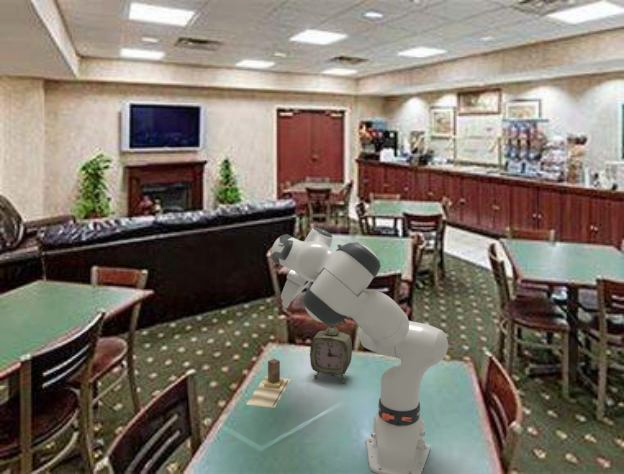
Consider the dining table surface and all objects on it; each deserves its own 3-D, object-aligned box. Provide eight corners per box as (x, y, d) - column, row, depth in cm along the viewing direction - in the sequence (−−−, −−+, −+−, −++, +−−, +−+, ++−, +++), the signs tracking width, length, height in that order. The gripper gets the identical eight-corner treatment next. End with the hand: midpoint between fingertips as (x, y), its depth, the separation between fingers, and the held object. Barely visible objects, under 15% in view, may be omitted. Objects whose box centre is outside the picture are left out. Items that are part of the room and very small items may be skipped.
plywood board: (274, 412, 174) (274, 408, 173) (245, 408, 176) (245, 404, 175) (290, 382, 195) (290, 379, 195) (265, 380, 197) (265, 376, 197)
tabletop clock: (309, 380, 197) (310, 317, 193) (316, 370, 206) (317, 309, 201) (347, 386, 193) (348, 321, 188) (352, 375, 201) (354, 313, 197)
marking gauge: (283, 381, 192) (283, 358, 191) (279, 388, 187) (279, 364, 185) (268, 380, 194) (268, 357, 192) (264, 386, 188) (264, 363, 187)
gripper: (308, 255, 188) (294, 285, 194) (285, 275, 170) (271, 308, 176) (323, 264, 187) (308, 294, 193) (302, 285, 169) (286, 317, 175)
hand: (290, 301), depth 184 cm, fingers open, 8 cm apart
